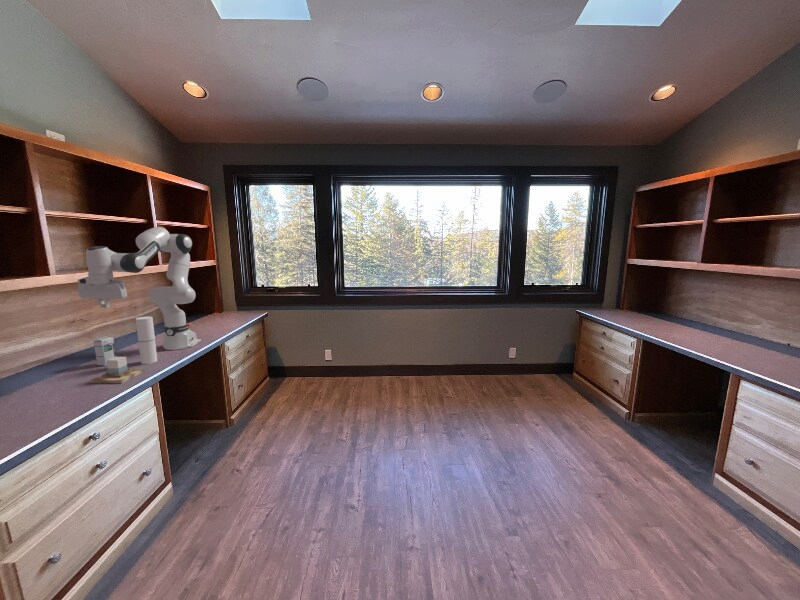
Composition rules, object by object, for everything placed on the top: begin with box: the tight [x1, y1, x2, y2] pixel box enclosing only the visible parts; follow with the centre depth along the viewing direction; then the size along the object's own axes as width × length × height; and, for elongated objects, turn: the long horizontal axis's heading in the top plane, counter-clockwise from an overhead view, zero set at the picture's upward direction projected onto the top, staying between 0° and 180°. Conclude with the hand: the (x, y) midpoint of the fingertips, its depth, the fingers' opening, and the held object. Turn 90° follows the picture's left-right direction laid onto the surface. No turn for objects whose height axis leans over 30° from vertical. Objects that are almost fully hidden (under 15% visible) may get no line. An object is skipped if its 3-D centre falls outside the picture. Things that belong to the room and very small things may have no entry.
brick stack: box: [106, 356, 129, 375], centre depth 151 cm, size 5×5×8 cm
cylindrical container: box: [135, 316, 158, 365], centre depth 170 cm, size 7×7×25 cm
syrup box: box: [93, 336, 117, 367], centre depth 167 cm, size 6×6×14 cm
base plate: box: [89, 368, 145, 384], centre depth 152 cm, size 14×14×3 cm
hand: (105, 307), depth 154 cm, fingers closed
